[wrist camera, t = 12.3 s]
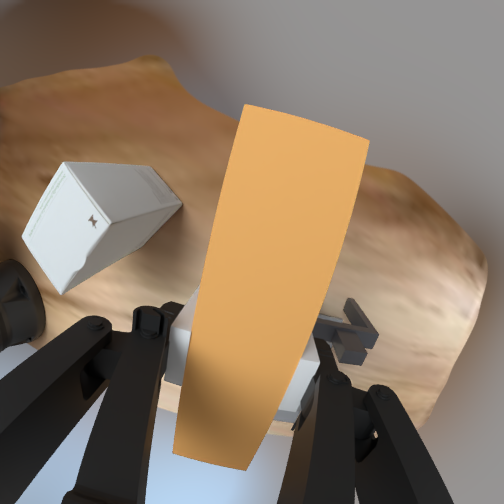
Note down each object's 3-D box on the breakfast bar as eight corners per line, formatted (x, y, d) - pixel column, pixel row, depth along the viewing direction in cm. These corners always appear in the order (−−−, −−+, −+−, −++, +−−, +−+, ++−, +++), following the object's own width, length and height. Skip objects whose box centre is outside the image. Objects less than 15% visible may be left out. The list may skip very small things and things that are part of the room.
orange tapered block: (187, 412, 15) (172, 453, 11) (251, 128, 11) (244, 104, 8) (250, 427, 15) (245, 470, 11) (341, 153, 11) (369, 140, 8)
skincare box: (152, 165, 29) (64, 152, 14) (187, 206, 30) (115, 223, 15) (108, 213, 31) (17, 234, 16) (140, 253, 32) (58, 299, 17)
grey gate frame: (295, 298, 31) (309, 359, 19) (299, 286, 31) (316, 342, 19) (349, 311, 31) (384, 370, 19) (353, 299, 31) (393, 354, 19)
